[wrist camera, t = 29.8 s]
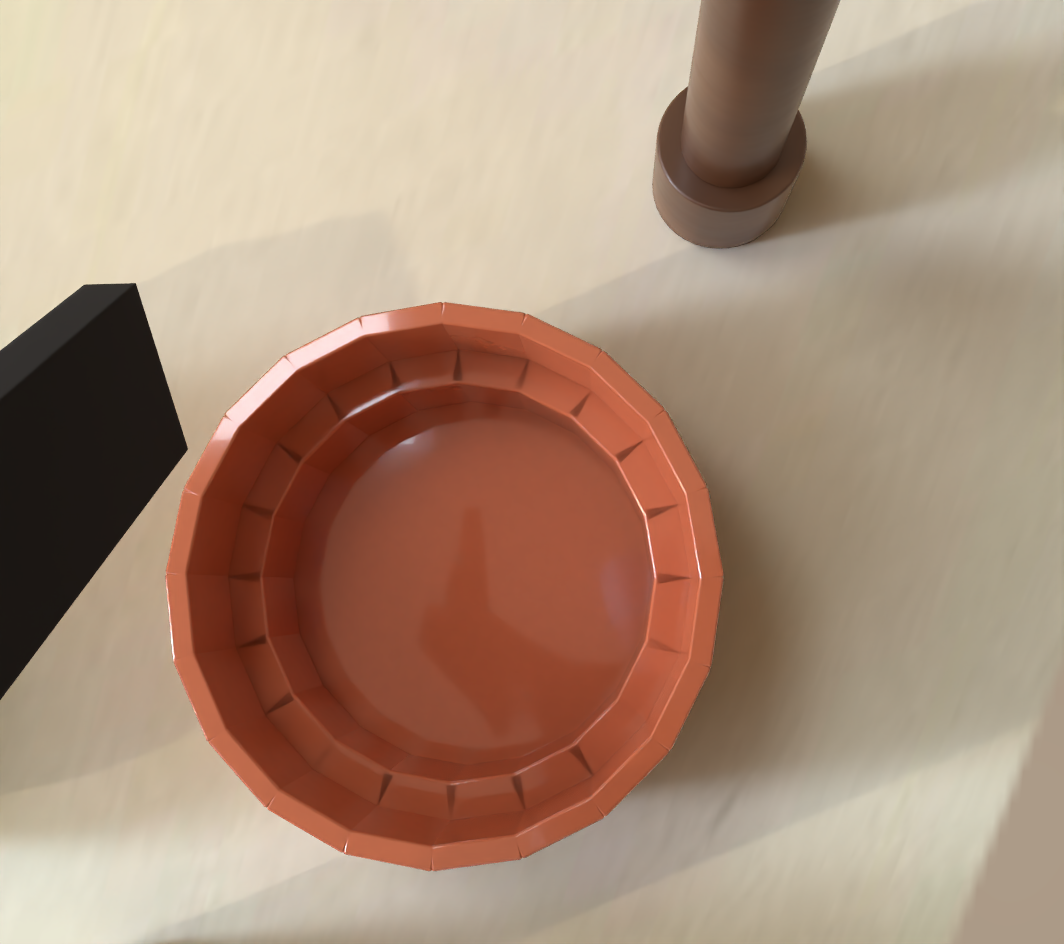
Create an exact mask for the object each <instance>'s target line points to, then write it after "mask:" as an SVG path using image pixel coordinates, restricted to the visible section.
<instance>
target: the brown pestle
mask: <svg viewBox="0 0 1064 944" xmlns="http://www.w3.org/2000/svg"><path fill="white" fill-rule="evenodd" d="M839 2H840V0H701V6H700V12H699V19H698V25H697V32H696V39H695V45H694V52H693V58H692V65H691V72H690V78H689V85H688V87H687V88H685V89H684V90H683V91H682V92H680V93H679V94H678V95H677V96H676V97H675V98H674V100H673V101H672V102H671V103H670V105H669V106H668V107H667V109H666V111H665V113H664V115H663V117H662V119H661V122H660V125H659V129H658V133H657V142H656V152H655V162H654V172H653V183H652V185H653V196H654V201H655V204H656V207H657V209H658V211H659V213H660V215H661V217H662V218H663V220H664V221H665V223H666V224H667V225H668V226H669V227H670V228H671V229H672V230H673V231H674V232H675V233H677V234H678V235H679V236H681V237H682V238H684V239H685V240H688V241H690V242H692V243H694V244H697V245H700V246H704V247H710V248H730V247H735V246H739V245H742V244H745V243H748V242H750V241H752V240H754V239H756V238H757V237H759V236H761V235H762V234H763V233H764V232H766V231H767V230H768V229H769V228H770V227H771V226H772V225H773V224H774V223H775V221H776V220H777V218H778V217H779V216H780V214H781V212H782V210H783V208H784V206H785V204H786V201H787V199H788V197H789V195H790V192H791V190H792V188H793V186H794V183H795V181H796V179H797V177H798V174H799V172H800V170H801V167H802V165H803V162H804V159H805V154H806V146H807V137H806V129H805V125H804V122H803V119H802V116H801V114H800V112H799V110H798V109H799V106H800V104H801V101H802V98H803V96H804V93H805V91H806V88H807V85H808V83H809V80H810V78H811V75H812V72H813V70H814V67H815V65H816V62H817V59H818V57H819V54H820V52H821V49H822V47H823V44H824V41H825V39H826V36H827V34H828V31H829V28H830V26H831V23H832V21H833V18H834V15H835V13H836V10H837V8H838V5H839Z"/></svg>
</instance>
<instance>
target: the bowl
mask: <svg viewBox="0 0 1064 944" xmlns="http://www.w3.org/2000/svg"><path fill="white" fill-rule="evenodd" d="M166 574H167V575H166V576H165V578H166V589H167V599H168V610H169V620H170V631H171V641H172V652H173V660H175V661H174V664H175V667H176V669H177V671H178V674H179V676H180V678H181V681H182V683H183V685H184V688H185V690H186V692H187V695H188V697H189V700H190V702H191V704H192V707H193V709H194V711H195V714H196V716H197V718H198V721H199V723H200V725H201V728H202V730H203V733H204V735H205V737H206V740H207V741H209V743H210V745H211V746H212V747H213V748H214V749H215V751H216V752H217V753H218V754H219V755H220V756H221V757H222V759H223V760H224V761H225V762H226V763H227V764H228V765H229V767H230V768H231V769H232V770H233V771H234V772H235V773H236V775H237V776H238V777H239V778H240V779H241V780H242V781H243V783H244V784H245V785H246V786H247V787H248V788H249V789H250V791H251V792H252V793H253V794H254V795H255V796H256V797H257V799H258V800H259V801H260V802H261V803H262V804H263V806H264V807H268V808H267V809H268V810H269V811H271V812H273V813H275V814H276V815H278V816H280V817H281V818H283V819H285V820H287V821H288V822H290V823H292V824H293V825H295V826H297V827H299V828H300V829H302V830H304V831H305V832H307V833H309V834H311V835H312V836H314V837H316V838H317V839H319V840H321V841H323V842H324V843H326V844H328V845H329V846H331V847H333V848H335V849H336V850H338V851H340V852H344V854H347V855H351V856H356V857H361V858H366V859H371V860H376V861H381V862H386V863H391V864H396V865H401V866H406V867H411V868H416V869H421V870H426V871H431V870H433V871H440V870H447V869H455V868H462V867H469V866H477V865H484V864H491V863H499V862H506V861H513V860H520V859H522V857H523V858H526V857H528V856H530V855H532V854H534V853H536V852H538V851H540V850H542V849H544V848H546V847H548V846H550V845H552V844H554V843H556V842H558V841H560V840H562V839H564V838H566V837H568V836H570V835H572V834H574V833H576V832H578V831H580V830H582V829H584V828H586V827H588V826H590V825H592V824H594V823H595V822H597V821H599V820H601V819H603V818H604V816H607V815H608V814H609V813H610V812H611V811H612V810H613V809H614V808H615V807H616V806H617V805H618V804H619V803H620V802H621V801H622V800H623V799H624V798H625V797H626V796H627V795H628V794H629V793H630V792H631V791H632V790H633V789H634V788H635V787H636V786H637V785H638V784H639V783H640V782H641V781H642V780H643V779H644V778H645V777H646V776H647V775H648V774H649V773H650V772H651V771H652V770H653V769H654V768H655V767H656V766H657V765H658V764H659V763H660V762H661V760H662V759H663V758H664V757H665V756H666V755H667V754H668V753H669V750H671V749H672V748H673V745H674V743H675V741H676V739H677V737H678V735H679V733H680V731H681V729H682V727H683V725H684V723H685V721H686V719H687V717H688V715H689V713H690V711H691V709H692V707H693V705H694V703H695V701H696V699H697V697H698V694H699V692H700V690H701V688H702V686H703V684H704V682H705V680H706V678H707V676H708V674H709V672H710V669H711V668H710V667H711V666H712V661H713V654H714V646H715V639H716V632H717V625H718V618H719V610H720V603H721V596H722V589H723V582H724V579H723V576H724V572H723V567H722V561H721V556H720V550H719V545H718V539H717V534H716V528H715V522H714V517H713V511H712V506H711V500H710V495H709V490H708V488H707V485H706V483H705V481H704V479H703V477H702V475H701V473H700V472H699V470H698V468H697V466H696V464H695V462H694V460H693V459H692V457H691V455H690V453H689V451H688V449H687V448H686V446H685V444H684V442H683V440H682V438H681V436H680V435H679V433H678V431H677V429H676V427H675V425H674V423H673V422H672V420H671V418H670V416H669V414H668V412H667V411H665V409H664V407H663V406H662V405H661V404H660V403H659V402H658V401H656V400H655V399H654V398H653V397H652V396H651V395H650V394H649V393H648V392H647V391H646V390H645V389H644V388H643V387H642V386H641V385H640V384H639V383H638V382H637V381H635V380H634V379H633V378H632V377H631V376H630V375H629V374H628V373H627V372H626V371H625V370H624V369H623V368H622V367H621V366H620V365H619V364H618V363H617V362H615V361H614V360H613V359H612V358H611V357H610V356H609V355H608V354H607V353H606V352H605V351H602V350H601V349H600V348H598V347H596V346H594V345H592V344H590V343H588V342H586V341H584V340H582V339H579V338H577V337H575V336H573V335H571V334H569V333H567V332H565V331H563V330H561V329H559V328H556V327H554V326H552V325H550V324H548V323H546V322H544V321H542V320H540V319H538V318H535V317H533V316H531V315H529V314H525V313H522V312H514V311H507V310H499V309H492V308H485V307H477V306H470V305H462V304H455V303H447V302H444V303H442V302H438V303H433V304H427V305H421V306H416V307H410V308H404V309H399V310H393V311H387V312H381V313H376V314H370V315H364V316H361V317H360V318H356V319H354V320H352V321H350V322H348V323H346V324H344V325H342V326H340V327H339V328H337V329H335V330H333V331H331V332H329V333H327V334H325V335H323V336H321V337H319V338H317V339H315V340H313V341H311V342H309V343H308V344H306V345H304V346H302V347H300V348H298V349H296V350H294V351H292V352H290V353H288V354H287V355H286V356H283V357H282V358H281V359H280V360H279V361H278V362H277V363H276V364H275V365H274V366H273V367H272V368H271V369H270V370H269V371H268V372H267V373H266V374H265V375H264V376H263V377H262V378H260V379H259V380H258V381H257V382H256V383H255V384H254V385H253V386H252V387H251V388H250V389H249V390H248V391H247V392H246V393H245V394H244V395H243V396H242V397H241V398H240V399H239V400H238V401H237V402H236V403H235V404H234V405H233V406H232V407H231V408H230V409H229V410H228V411H227V412H226V413H225V416H223V418H222V419H221V421H220V423H219V425H218V427H217V428H216V430H215V432H214V434H213V436H212V438H211V439H210V441H209V443H208V445H207V447H206V449H205V450H204V452H203V454H202V456H201V458H200V460H199V461H198V463H197V465H196V467H195V469H194V470H193V472H192V474H191V476H190V478H189V480H188V481H187V483H186V485H185V487H184V491H183V492H182V497H181V501H180V506H179V511H178V516H177V521H176V525H175V530H174V535H173V540H172V545H171V549H170V554H169V559H168V564H167V569H166Z"/></svg>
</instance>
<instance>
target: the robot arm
mask: <svg viewBox="0 0 1064 944" xmlns="http://www.w3.org/2000/svg"><path fill="white" fill-rule="evenodd" d="M187 450H188V448H187V444H186V441H185V438H184V435H183V432H182V429H181V425H180V422H179V419H178V416H177V413H176V410H175V406H174V403H173V400H172V397H171V394H170V391H169V387H168V384H167V381H166V378H165V375H164V372H163V368H162V365H161V362H160V359H159V356H158V353H157V349H156V346H155V343H154V340H153V337H152V334H151V330H150V327H149V324H148V321H147V318H146V315H145V311H144V308H143V305H142V302H141V299H140V296H139V292H138V289H137V286H136V283H130V284H92V285H83V286H82V287H81V288H80V289H78V290H77V291H76V292H75V293H73V294H72V295H71V296H69V297H68V298H67V299H66V300H64V301H63V302H62V303H60V304H59V305H58V306H57V307H55V308H54V309H53V310H52V311H50V312H49V313H48V314H46V315H45V316H44V317H43V318H41V319H40V320H39V321H38V322H36V323H35V324H34V325H32V326H31V327H30V328H29V329H27V330H26V331H25V332H23V333H22V334H21V335H20V336H18V337H17V338H16V339H15V340H13V341H12V342H11V343H9V344H8V345H7V346H6V347H4V348H3V349H2V350H1V351H0V700H1V698H2V697H3V696H4V694H5V693H6V692H7V690H8V689H9V688H10V686H11V685H12V684H13V682H14V681H15V680H16V678H17V677H18V676H19V674H20V673H21V672H22V670H23V669H24V668H25V666H26V665H27V664H28V662H29V661H30V660H31V658H32V657H33V656H34V654H35V653H36V652H37V650H38V649H39V648H40V646H41V645H42V644H43V642H44V641H45V640H46V638H47V637H48V636H49V634H50V633H51V632H52V630H53V629H54V628H55V626H56V625H57V624H58V622H59V621H60V620H61V618H62V617H63V616H64V614H65V613H66V612H67V610H68V609H69V608H70V606H71V605H72V604H73V602H74V601H75V600H76V598H77V597H78V596H79V594H80V593H81V591H82V590H83V589H84V587H85V586H86V585H87V583H88V582H89V581H90V579H91V578H92V577H93V575H94V574H95V573H96V571H97V570H98V569H99V567H100V566H101V565H102V563H103V562H104V561H105V559H106V558H107V557H108V555H109V554H110V553H111V551H112V550H113V549H114V547H115V546H116V545H117V543H118V542H119V541H120V539H121V538H122V537H123V535H124V534H125V533H126V531H127V530H128V529H129V527H130V526H131V525H132V523H133V522H134V521H135V519H136V518H137V517H138V515H139V514H140V513H141V511H142V510H143V509H144V507H145V506H146V505H147V503H148V502H149V501H150V499H151V498H152V497H153V495H154V494H155V493H156V491H157V490H158V489H159V487H160V486H161V485H162V483H163V482H164V481H165V479H166V478H167V477H168V475H169V474H170V473H171V471H172V470H173V469H174V467H175V466H176V465H177V463H178V462H179V461H180V459H181V458H182V457H183V455H184V454H185V453H186V451H187Z"/></svg>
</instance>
